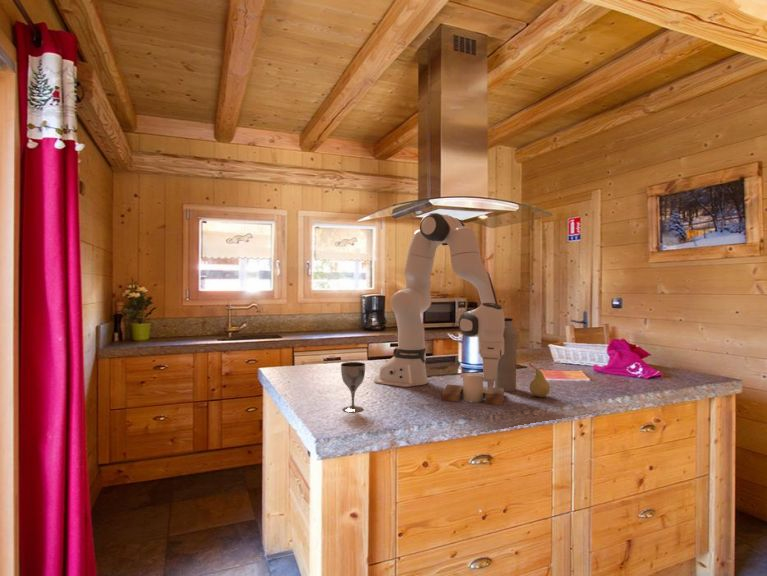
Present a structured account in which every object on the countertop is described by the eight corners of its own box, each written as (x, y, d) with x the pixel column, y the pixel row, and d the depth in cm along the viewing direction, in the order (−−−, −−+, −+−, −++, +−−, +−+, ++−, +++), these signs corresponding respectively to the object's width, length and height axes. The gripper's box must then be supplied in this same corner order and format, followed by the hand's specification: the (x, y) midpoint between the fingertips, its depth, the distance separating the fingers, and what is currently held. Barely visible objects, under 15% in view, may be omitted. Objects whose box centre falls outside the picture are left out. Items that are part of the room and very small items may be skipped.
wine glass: (340, 406, 149) (341, 362, 148) (364, 405, 149) (364, 361, 149) (340, 413, 141) (340, 366, 140) (365, 412, 141) (365, 366, 141)
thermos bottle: (514, 387, 176) (515, 317, 175) (516, 392, 168) (517, 319, 168) (494, 385, 178) (495, 316, 177) (495, 390, 170) (496, 318, 169)
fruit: (547, 400, 157) (548, 367, 157) (526, 397, 161) (526, 364, 161) (551, 396, 163) (551, 364, 163) (530, 393, 167) (531, 361, 167)
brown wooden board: (441, 400, 156) (441, 393, 156) (447, 390, 170) (447, 384, 170) (502, 405, 151) (503, 398, 151) (503, 395, 164) (503, 388, 164)
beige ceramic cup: (459, 401, 156) (459, 375, 155) (461, 396, 162) (461, 371, 162) (491, 403, 153) (492, 378, 152) (492, 398, 159) (493, 373, 159)
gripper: (483, 344, 166) (483, 380, 167) (480, 353, 147) (479, 394, 147) (501, 345, 165) (500, 381, 165) (499, 354, 145) (499, 395, 145)
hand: (490, 387), depth 156 cm, fingers open, 5 cm apart
